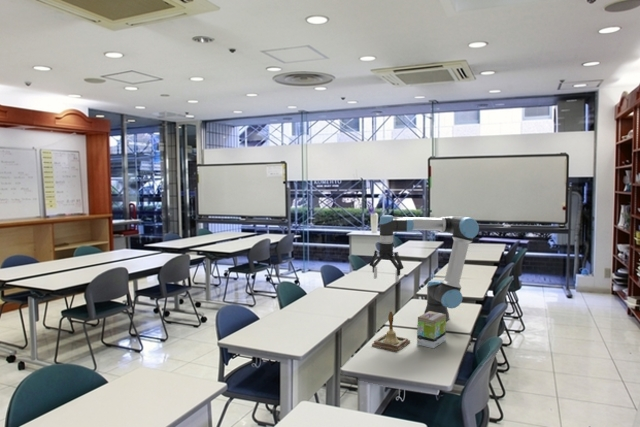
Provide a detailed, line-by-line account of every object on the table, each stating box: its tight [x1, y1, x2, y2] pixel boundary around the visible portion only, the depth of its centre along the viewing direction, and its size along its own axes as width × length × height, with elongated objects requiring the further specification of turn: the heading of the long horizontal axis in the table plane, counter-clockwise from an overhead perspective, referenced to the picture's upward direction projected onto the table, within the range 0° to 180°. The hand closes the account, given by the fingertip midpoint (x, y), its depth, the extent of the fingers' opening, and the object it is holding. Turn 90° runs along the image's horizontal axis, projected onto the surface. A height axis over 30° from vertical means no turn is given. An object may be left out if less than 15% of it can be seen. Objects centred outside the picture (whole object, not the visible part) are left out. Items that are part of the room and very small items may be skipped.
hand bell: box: [383, 311, 399, 345], centre depth 231 cm, size 8×8×16 cm
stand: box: [371, 333, 411, 353], centre depth 231 cm, size 16×14×2 cm
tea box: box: [416, 311, 447, 349], centre depth 233 cm, size 15×10×15 cm
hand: (386, 279), depth 253 cm, fingers open, 13 cm apart
